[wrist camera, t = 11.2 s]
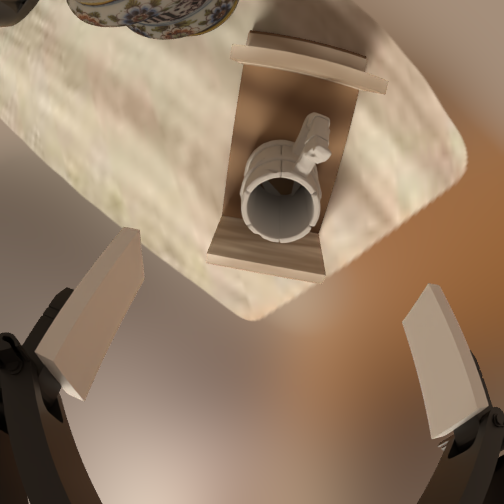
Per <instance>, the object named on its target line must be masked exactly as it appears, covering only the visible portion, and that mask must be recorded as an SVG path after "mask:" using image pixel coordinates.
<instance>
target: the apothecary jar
mask: <svg viewBox="0 0 504 504" xmlns="http://www.w3.org/2000/svg"><path fill="white" fill-rule="evenodd" d="M67 3H68V5H69V7H70V9H71V11H72V12H73V13H74V14H75V15H76V16H77V17H78V18H79V19H81V20H82V21H84V22H86V23H88V24H91V25H95V26H100V27H120V26H127V27H128V28H129V29H131V30H132V31H134V32H135V33H137V34H139V35H142V36H145V37H148V38H153V39H176V38H182V37H186V36H196V35H201V34H204V33H207V32H209V31H212V30H214V29H215V28H217V27H219V26H220V25H221V24H223V23H224V22H225V21H226V20H227V19H228V18H229V17H230V16H231V14H232V13H233V11H234V10H235V8H236V5H237V3H238V0H67Z"/></svg>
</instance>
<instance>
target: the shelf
mask: <svg viewBox="0 0 504 504" xmlns="http://www.w3.org/2000/svg"><path fill="white" fill-rule="evenodd" d="M230 59H233V60H235V61H237V62H239V63H242V64H244V66H243V72H242V78H241V84H240V90H239V96H238V102H237V109H236V115H235V122H234V129H233V136H232V143H231V150H230V157H229V165H228V172H227V180H226V188H225V196H224V204H223V212H222V217H221V219H220V222H219V224H218V227H217V229H216V232H215V234H214V237H213V239H212V242H211V244H210V247H209V249H208V252H207V259H206V263H209V264H214V265H219V266H224V267H230V268H235V269H240V270H246V271H251V272H256V273H262V274H267V275H273V276H278V277H284V278H290V279H295V280H301V281H307V282H312V283H318V284H322V283H323V281H324V279H325V276H326V274H325V268H324V262H323V256H322V250H321V245H320V240H319V234H318V233H319V230H320V227H321V224H322V221H323V218H324V215H325V212H326V209H327V205H328V202H329V199H330V196H331V192H332V189H333V186H334V182H335V179H336V176H337V172H338V169H339V165H340V162H341V158H342V155H343V151H344V147H345V144H346V140H347V136H348V132H349V129H350V125H351V121H352V117H353V113H354V109H355V105H356V101H357V96H358V92H359V90H363V91H369V92H375V93H380V94H386V90H387V85H388V81H387V80H385V79H382V78H379V77H377V76H374V75H371V74H368V73H365V68H366V63H367V59H366V56H363V55H360V54H357V53H354V52H351V51H348V50H344V49H341V48H338V47H334V46H330V45H327V44H323V43H319V42H315V41H310V40H306V39H301V38H296V37H291V36H286V35H280V34H274V33H267V32H260V31H252V30H250V32H249V33H248V38H247V44H246V46H245V45H235V44H232V49H231V55H230ZM313 112H316V113H318V114H321V115H324V116H326V117H328V118H329V119H330V126H329V129H330V134H329V145H328V149H329V150H330V151H331V153H332V154H331V156H330V157H329V159H328V160H326V161H325V162H321V163H318V164H317V163H316V167H317V172H318V181H319V184H320V188H321V192H322V196H321V199H320V215H319V219H318V221H317V223H316V225H315V226H311V230H310V231H309V233H308V234H306V235H305V236H304V237H302V238H300V239H298V240H295V241H292V242H287V243H280V241H279V242H272V241H269V240H267V239H264V238H262V237H261V235H259V234H255V233H253V232H252V231H251V230H250V229H249V228H248V227H247V225H246V224H245V222H244V220H243V217H242V212H241V196H240V189H241V186H242V182H243V179H244V172H245V167H246V163H247V161H248V159H249V157H250V155H251V154H252V153H253V151H254V150H255V149H256V148H258V147H259V146H260V145H262V144H263V143H266V142H269V141H273V140H288V141H292V142H295V141H296V139H297V137H298V135H299V133H300V131H301V128H302V125H303V123H304V121H305V119H306V117H307V115H309V114H311V113H313ZM268 181H269V182H270V183H271V184H272V186H273V187H274V188H275V189H276V190H277V191H278V192H279V193H280V194H281V195H288V194H291V193H292V189H293V184H294V180H292V179H288V178H283V177H279V178H272V179H269V180H268ZM260 186H261V187H262V188H263V189H264V186H263V184H262V183H260ZM301 187H302V185H301V186H300V187H299V188H298V190H299V189H300V188H301Z"/></svg>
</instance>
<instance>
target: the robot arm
mask: <svg viewBox="0 0 504 504" xmlns="http://www.w3.org/2000/svg"><path fill="white" fill-rule="evenodd" d="M38 1H39V0H0V27H8V26H13V25H15V24H17V23H18V22H20V21H21V20H22V19H23V18H24V17H25V16H26V15H27V14H28V13H29V12H30V11H31V10H32V9H33V7H34V6H35V5H36V4H37V2H38ZM144 279H145V277H144V269H143V260H142V250H141V239H140V230H138V229H133V228H127V227H124V228H123V229H122V230H121V231H120V232H119V234H118V235H117V236H116V237H115V238H114V240H113V241H112V242H111V243H110V244H109V246H108V247H107V248H106V249H105V251H104V252H103V253H102V254H101V256H100V257H99V258H98V259H97V261H96V262H95V263H94V264H93V266H92V267H91V269H90V270H89V271H88V272H87V274H86V275H85V276H84V278H83V279H82V280H81V282H80V283H79V284H78V286H77V287H76V289H75V290H73V289H70V288H65V289H64V290H62V291H61V292H60V293H58V294H57V295H56V296H55V297H54V299H53V300H52V302H51V303H50V304H49V307H48V308H47V309H46V310H45V312H44V313H43V316H41V317H40V319H39V320H38V322H37V323H36V325H35V326H34V328H33V330H32V331H31V333H30V334H29V336H28V338H27V339H26V341H25V342H24V344H23V345H22V346H21V345H20V343H19V341H18V340H17V339H16V337H15V336H14V335H13V334H11V333H1V334H0V504H29V503H28V499H29V501H30V504H102V502H101V500H100V498H99V497H98V494H97V492H96V490H95V488H94V486H93V484H92V482H91V480H90V478H89V476H88V473H87V471H86V469H85V467H84V464H83V462H82V459H81V457H80V455H79V452H78V449H77V447H76V444H75V441H74V439H73V436H72V433H71V430H70V427H69V423H68V420H67V417H66V414H65V410H64V407H63V403H62V399H61V396H60V394H59V391H60V389H61V387H62V388H63V389H64V390H65V391H66V392H67V393H68V394H70V395H71V396H74V397H76V398H78V399H80V400H82V401H85V400H86V397H87V395H88V392H89V390H90V388H91V385H92V383H93V381H94V379H95V376H96V374H97V372H98V370H99V368H100V365H101V363H102V361H103V359H104V357H105V355H106V353H107V350H108V348H109V346H110V344H111V342H112V340H113V338H114V336H115V334H116V332H117V330H118V328H119V326H120V324H121V322H122V320H123V318H124V316H125V315H126V313H127V311H128V309H129V307H130V305H131V303H132V301H133V299H134V298H135V296H136V294H137V292H138V290H139V288H140V287H141V285H142V283H143V281H144ZM402 323H403V326H404V329H405V332H406V336H407V339H408V342H409V345H410V348H411V352H412V355H413V359H414V362H415V366H416V370H417V374H418V377H419V381H420V385H421V389H422V394H423V398H424V402H425V407H426V412H427V417H428V422H429V427H430V433H431V438H432V439H434V438H438V437H442V436H444V435H446V434H448V433H450V432H451V431H453V430H454V435H452V436H450V437H449V438H447V439H445V440H443V441H442V442H440V444H439V445H438V447H440V446H442V445H444V444H446V443H447V445H446V446H444V447H442V450H444V452H443V455H442V457H441V459H440V461H439V463H438V466H437V468H436V470H435V472H434V474H433V476H432V478H431V480H430V482H429V484H428V485H427V487H426V489H425V491H424V493H423V494H422V496H421V498H420V499H419V501H418V503H417V504H504V455H502V456H500V457H499V453H500V451H502V450H504V413H503V411H501V409H500V408H498V407H492V404H491V401H490V397H489V394H488V391H487V388H486V385H485V382H484V379H483V378H482V373H481V371H480V370H479V369H480V368H479V365H478V362H477V360H476V358H475V356H474V355H473V353H472V352H471V350H469V347H468V345H467V342H466V340H465V338H464V335H463V333H462V331H461V328H460V327H459V324H458V322H457V320H456V318H455V315H454V313H453V311H452V309H451V307H450V305H449V303H448V301H447V299H446V297H445V295H444V293H443V291H442V290H441V288H440V286H439V285H435V284H429V283H428V285H427V286H426V288H425V290H424V291H423V293H422V294H421V296H420V297H419V299H418V300H417V302H416V303H415V305H414V306H413V308H412V309H411V310H410V312H409V313H408V315H407V316H406V318H405V319H404V320H403V322H402ZM498 457H499V458H498ZM27 497H28V498H27Z"/></svg>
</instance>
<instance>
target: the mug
mask: <svg viewBox="0 0 504 504" xmlns="http://www.w3.org/2000/svg"><path fill="white" fill-rule="evenodd" d="M329 126H330V119H329V118H328V117H326V116H324V115H321V114H318V113H316V112H313V113H311V114H309V115H307V117H306V119H305V121H304V123H303V125H302V128H301V131H300V133H299V135H298V137H297V139H296V141H295V142H292V141H288V140H273V141H269V142H266V143H263V144H262V145H260V146H259V147H258V148H256V149H255V150H254V151H253V153H252V154H251V155H250V157H249V159H248V161H247V163H246V167H245V172H244V179H243V182H242V186H241V189H240V196H241V212H242V217H243V220H244V222H245V224H246V225H247V227H248V228H249V229H250V230H251V231H252V232H253V233H255V234H259V235H261V237H262V238H264V239H267V240H269V241H272V242H279V241H280V243H287V242H292V241H295V240H298V239H300V238H302V237H304V236H305V235H306V234H308V233H309V231H310V230H311V226H315V225H316V223H317V221H318V219H319V215H320V199H321V196H322V192H321V188H320V184H319V181H318V172H317V167H316V163H317V164H318V163H321V162H325V161H326V160H328V159H329V157H330V156H331V154H332V153H331V151H330V150H329V149H328V145H329V134H330V129H329ZM279 177H283V178H288V179H292V180H294V184H293V189H292V193H291V194H288V195H281V194H280V193H279V192H278V191H277V190H276V189H275V188H274V187H273V186H272V184H271V183H270V182H269V181H268V180H269V179H272V178H279ZM260 183H262V184H263V186H264V189H263V188H262V187H261V186H260ZM301 185H302V187H301V188H300V189H299V190H298V188H299V187H300V186H301Z"/></svg>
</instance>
